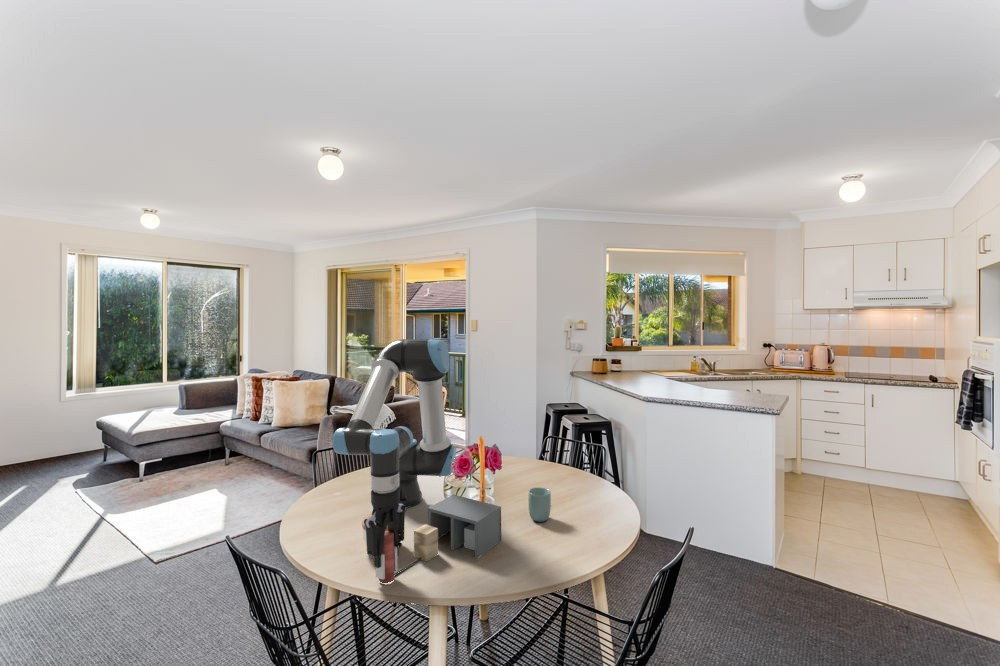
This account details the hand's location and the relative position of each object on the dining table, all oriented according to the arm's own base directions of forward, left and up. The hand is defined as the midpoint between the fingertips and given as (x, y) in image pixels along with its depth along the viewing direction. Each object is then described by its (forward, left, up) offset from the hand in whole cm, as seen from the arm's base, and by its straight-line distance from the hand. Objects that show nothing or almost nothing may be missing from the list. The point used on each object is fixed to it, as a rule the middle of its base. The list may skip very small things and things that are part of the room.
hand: (386, 573), depth 131 cm
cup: (+17, +56, -2) cm, 59 cm away
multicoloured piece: (0, +8, -2) cm, 9 cm away
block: (+9, +29, -2) cm, 30 cm away
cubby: (+4, +29, -2) cm, 30 cm away
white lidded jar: (-14, +13, -2) cm, 19 cm away
